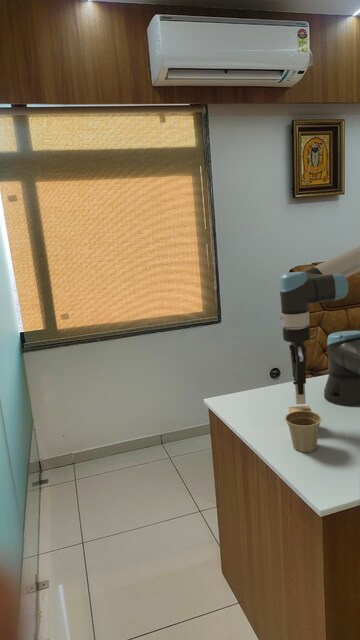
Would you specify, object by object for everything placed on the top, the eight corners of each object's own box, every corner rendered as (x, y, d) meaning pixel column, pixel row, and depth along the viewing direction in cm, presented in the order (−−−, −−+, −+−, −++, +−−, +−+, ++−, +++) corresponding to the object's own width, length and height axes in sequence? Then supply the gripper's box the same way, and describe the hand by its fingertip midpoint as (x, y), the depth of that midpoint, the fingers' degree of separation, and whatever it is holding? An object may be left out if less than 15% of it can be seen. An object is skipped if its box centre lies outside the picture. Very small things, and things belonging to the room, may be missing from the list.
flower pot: (298, 459, 108) (297, 428, 106) (280, 443, 117) (278, 415, 115) (329, 450, 110) (328, 420, 108) (309, 436, 119) (308, 408, 117)
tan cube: (309, 405, 125) (313, 414, 119) (310, 424, 126) (313, 433, 120) (288, 406, 126) (291, 415, 120) (289, 425, 127) (292, 434, 121)
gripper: (279, 322, 126) (284, 395, 130) (286, 332, 113) (291, 413, 117) (304, 320, 125) (309, 393, 129) (314, 330, 112) (318, 411, 117)
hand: (300, 402), depth 123 cm, fingers closed
